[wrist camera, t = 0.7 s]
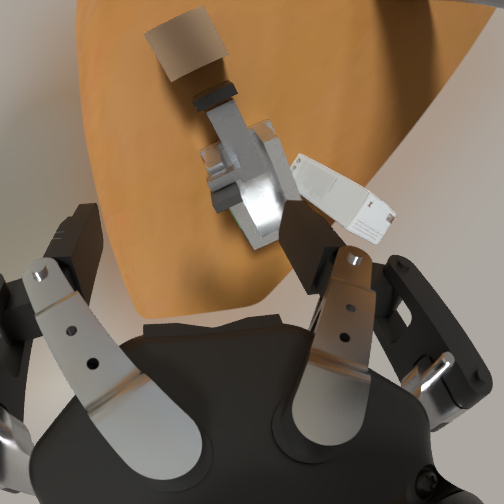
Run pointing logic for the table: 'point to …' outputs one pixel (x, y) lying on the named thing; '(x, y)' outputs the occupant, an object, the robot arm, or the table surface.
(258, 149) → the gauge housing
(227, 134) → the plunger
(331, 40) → the table surface
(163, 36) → the walnut block
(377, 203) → the skincare box
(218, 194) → the dark gray block
